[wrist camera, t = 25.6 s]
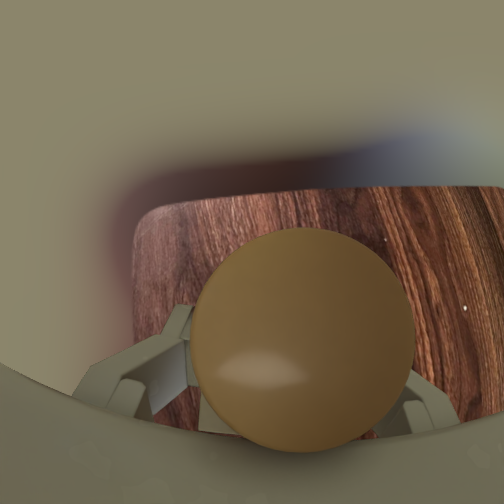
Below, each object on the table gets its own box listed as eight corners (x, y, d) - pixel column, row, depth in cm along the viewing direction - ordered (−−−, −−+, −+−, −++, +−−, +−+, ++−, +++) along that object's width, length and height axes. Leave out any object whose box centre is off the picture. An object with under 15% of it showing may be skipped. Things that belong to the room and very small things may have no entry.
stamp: (206, 418, 13) (110, 538, 2) (218, 290, 16) (168, 118, 5) (302, 424, 13) (438, 530, 2) (309, 297, 16) (429, 149, 5)
